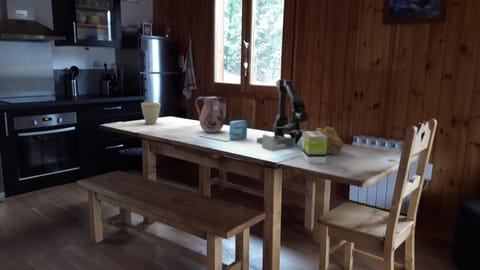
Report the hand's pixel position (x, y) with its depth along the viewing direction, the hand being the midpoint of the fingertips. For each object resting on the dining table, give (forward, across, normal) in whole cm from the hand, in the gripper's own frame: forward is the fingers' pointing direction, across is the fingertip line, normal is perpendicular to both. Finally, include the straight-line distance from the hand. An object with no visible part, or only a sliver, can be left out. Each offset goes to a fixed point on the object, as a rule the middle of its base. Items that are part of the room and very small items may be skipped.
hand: (294, 143), depth 242 cm
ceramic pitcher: (+1, -64, -25) cm, 69 cm away
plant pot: (+1, -114, -49) cm, 124 cm away
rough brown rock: (+1, +25, +4) cm, 25 cm away
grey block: (+1, 0, -16) cm, 16 cm away
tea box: (+1, +32, -16) cm, 36 cm away
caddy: (+1, 0, -6) cm, 6 cm away
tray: (+1, -13, -8) cm, 15 cm away
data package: (+1, -33, -21) cm, 39 cm away
